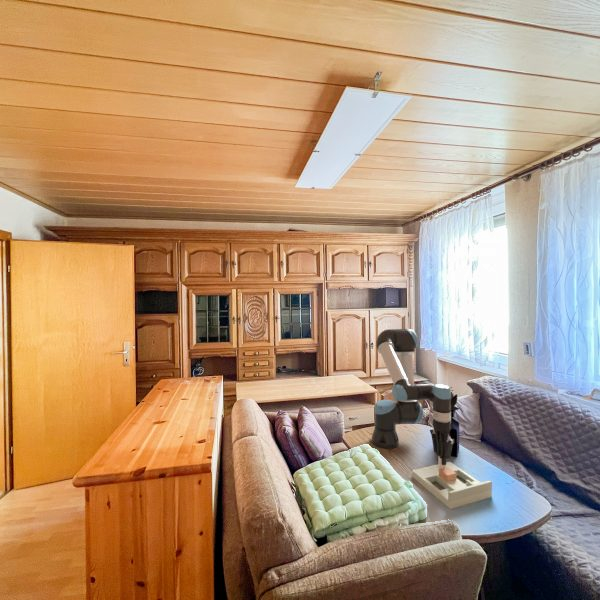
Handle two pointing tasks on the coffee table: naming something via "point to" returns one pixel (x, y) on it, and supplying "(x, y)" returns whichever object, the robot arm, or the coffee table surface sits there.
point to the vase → (454, 427)
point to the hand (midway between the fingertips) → (441, 470)
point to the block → (447, 474)
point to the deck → (453, 486)
